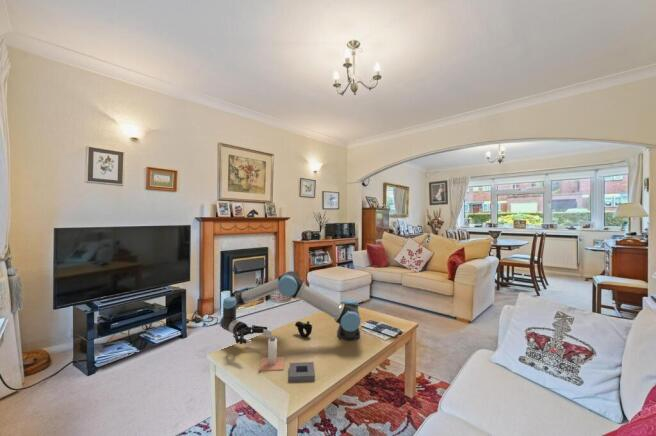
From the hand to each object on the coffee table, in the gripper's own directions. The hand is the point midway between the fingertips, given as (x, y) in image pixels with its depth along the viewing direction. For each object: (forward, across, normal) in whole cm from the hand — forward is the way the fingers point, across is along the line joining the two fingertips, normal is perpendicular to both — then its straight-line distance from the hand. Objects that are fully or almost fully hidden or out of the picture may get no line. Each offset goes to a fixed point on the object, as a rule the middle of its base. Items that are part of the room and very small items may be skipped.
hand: (261, 338), depth 149 cm
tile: (+10, 0, -11) cm, 14 cm away
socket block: (+27, -3, -11) cm, 30 cm away
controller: (-2, -35, -11) cm, 37 cm away
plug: (+10, 0, -10) cm, 14 cm away
